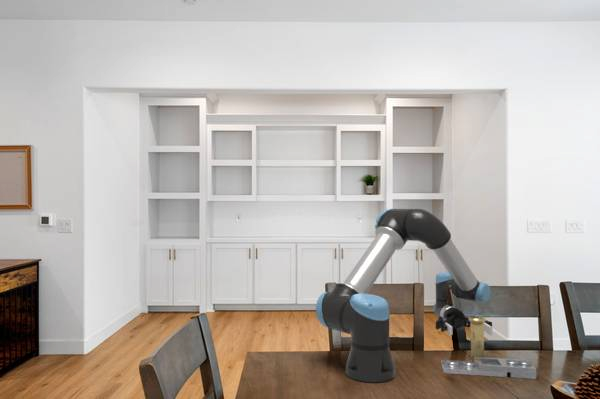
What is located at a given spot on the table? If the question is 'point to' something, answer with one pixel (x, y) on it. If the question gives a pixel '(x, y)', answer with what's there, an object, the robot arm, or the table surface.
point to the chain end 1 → (468, 368)
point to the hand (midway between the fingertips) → (471, 331)
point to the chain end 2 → (507, 366)
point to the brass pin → (477, 336)
